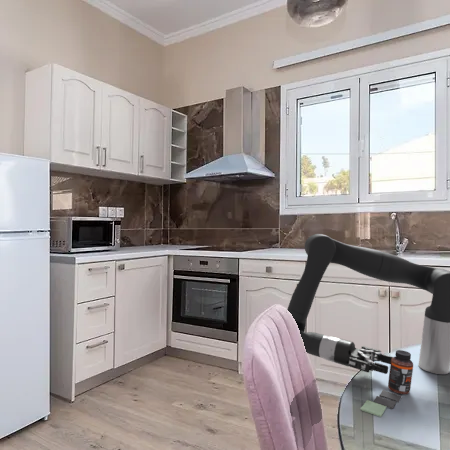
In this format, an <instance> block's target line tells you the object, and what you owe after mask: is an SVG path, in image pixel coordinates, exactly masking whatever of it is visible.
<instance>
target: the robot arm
mask: <svg viewBox="0 0 450 450" xmlns="http://www.w3.org/2000/svg"><path fill="white" fill-rule="evenodd" d="M304 250H305V253H306V256H307V257H306V258H307V259H306V263H305V267H304V270H303V272H302V274H301V275H302V276H301V277H300V280H299V281H298V283H297V284H296V286H295V289H294V290H293V292H292V296H291V298H290V300H289V304H288V307H287V309H286V311H287V310H288V311H289V312H290V313H291V314H292V316H293V318H294V319H295V321H296V323H297V325H298V328H299V330H300V334H301V337H302V339H303V342H304V346H305V349H306V352H307V353H306V354H309V355H310V356H311V355H312V356H315V357H319V358H322V359H324V360H326V361H328V362H332V363H335V364H339V365H341V366H344V367H350V368H353V369H357V370H359V371H362V372H365V373H370V372H373V371H374V372H378V373H381V374H384V375H386V374H388V373H389V366H388V365H391V359H392V358H393V357H394V356H391V355H387V354H383V352H382V350H380V349H377V348H373V347H368V346H365V345H362V346H361V348H356V344H355V342H354V341H351V340H347V339H343V338H340V337H336V336H331V335H326V334H322V333H318V332H313V331H308V332H305V331H306V325H307V319H308V317H309V313H310V310H311V308H312V305H313V302H314V299H315V297H316V293H317V291H318V288H319V286H320V284H321V281H322V279H323V277H324V275H325V272H326V270H327V269H328V267H329V265H330V264H331V263H332V264H336V265H339V266H340V265H341V266H343V267H345V268H348V269H351V270H352V271H354V272H356V273H359V274H361V275H364V276H366V277H367V276H368V277H370V278H372V279H376V280H379V281H383V282H384V281H385V282H388V283H394V284H395V283H396V284H405V285H409V286H413V287H415V288H420V289H422V290H424V291H427V292H428V293H430V294H432V297H431V302H430V305H428V306H426V308H425V310H424V318H423V327H422V335H421V343H420V349H419V358H418V363H417V364H418V367H419V368H420V369H422V370H423V371H426V372H428V373H432V374H436V375H448V374H449V373H450V271H449V270H447V269H444V268H440V267H439V268H438V267H432V266H428V265H427V266H426V265H422V264H417V263H414V262H412V261H409V260H407V259H406V258H402V257H399V256H397V255H395V254H391V253H389V252H385V251H381V250H378V249H373V248H369V247H365V246H357V245H351V244H347V243H344V242H341V241H339V240H336V239H333V238H331V237H330V236H328V235H326V234H323V233H315V234H312V235H310V236H309V237H307V239H306V241H305V242H304ZM379 362H381V363H379ZM383 363H385V364H386V365H385V364H383ZM387 364H388V365H387Z"/></svg>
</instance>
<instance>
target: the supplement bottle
mask: <svg viewBox="0 0 450 450" xmlns="http://www.w3.org/2000/svg"><path fill="white" fill-rule="evenodd" d="M411 356H412V354H411V353H410V352H409V351H406V350H404V349H403V350H402V349H398V350H397V349H396V350H395V356H392V357H393V358H392V359H391V364H389V365H390V366H389V372H388V373H389V376H388V383H387V387H388V389H389V390H390V391H391V392H392V393H394V394H397V395H408V394H410V392H411V388H412V387H411V385H412V380H413V379H412V378H413V372H414V362H413V361H412V360H411V358H412V357H411Z"/></svg>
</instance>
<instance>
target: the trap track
mask: <svg viewBox="0 0 450 450" xmlns="http://www.w3.org/2000/svg"><path fill="white" fill-rule="evenodd" d="M401 399H402V394H398V393H395V392H392V391H391V392H390V391H387V390H384V389H382V391H381V393H379V395H376V396H375V398H374V399H373V401H372V400H370V399H369V400H368V399H366V400H365V402H364V403H363V405H362V406H361V407H360V411H362V412H365V413H367V414H371V415H374V416H377V417H379V418H382V416H383V415H384V413H385V411H386V410H387V408H388V409H391V410H393V409H394V408H395V406H396V404H397V403H400V401H401Z"/></svg>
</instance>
